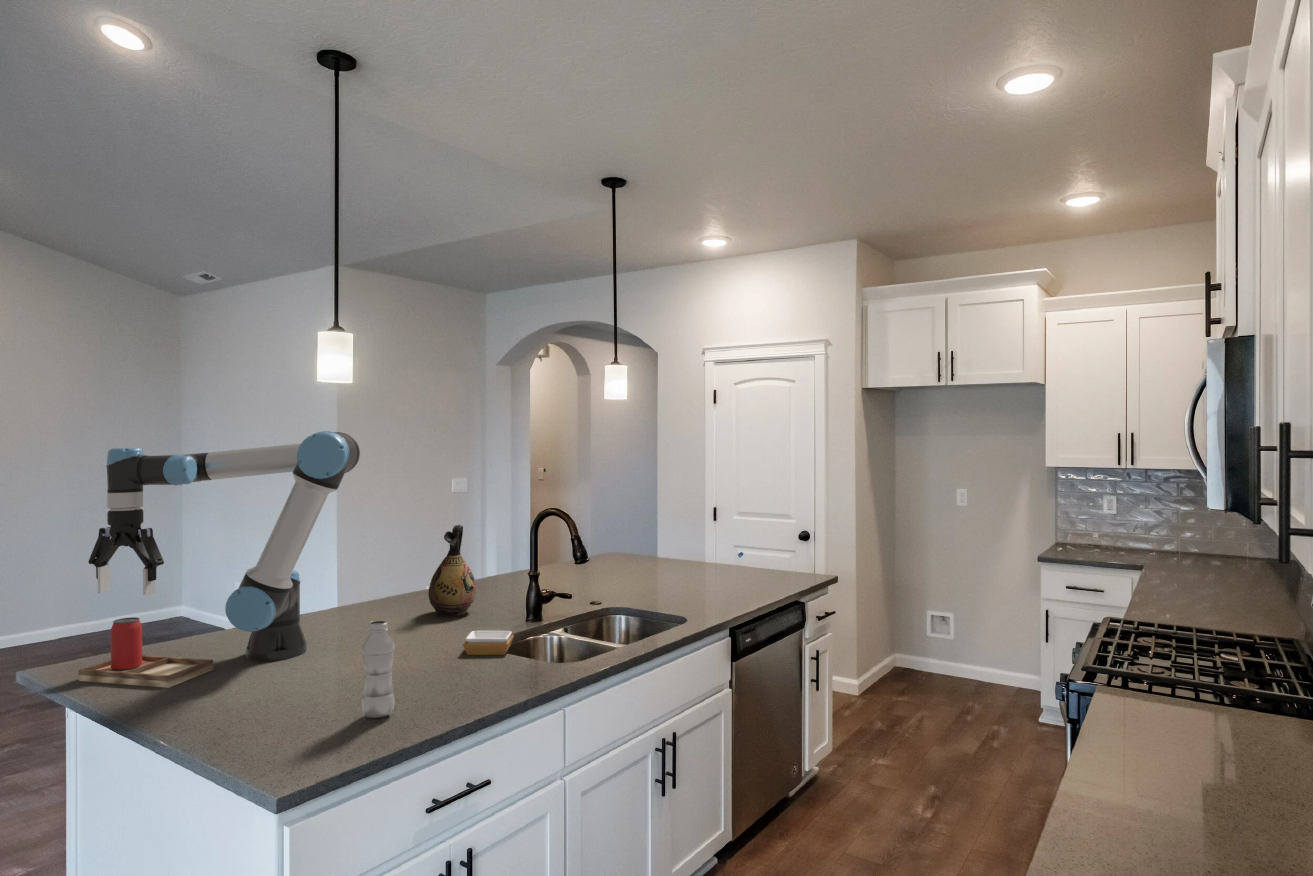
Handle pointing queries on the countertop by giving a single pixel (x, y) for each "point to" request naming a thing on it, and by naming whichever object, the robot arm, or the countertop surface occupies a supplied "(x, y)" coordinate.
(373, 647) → the plastic bottle
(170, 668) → the caddy tray
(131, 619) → the beer can
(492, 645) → the soap dish
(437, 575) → the ceramic jug
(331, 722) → the countertop surface
